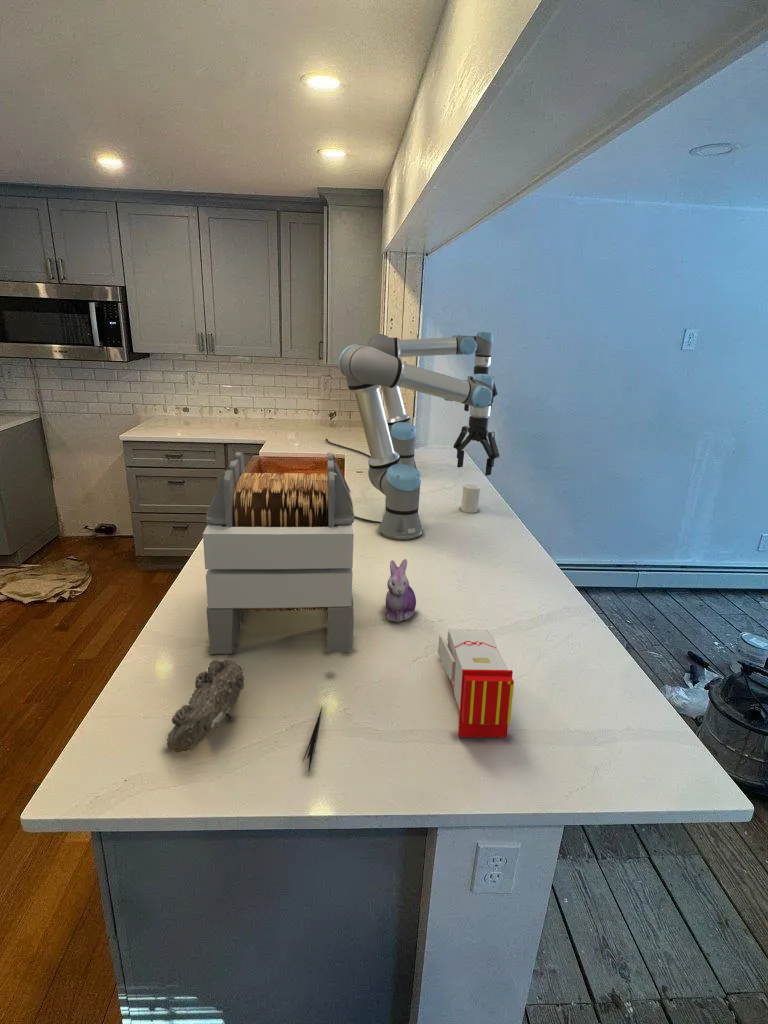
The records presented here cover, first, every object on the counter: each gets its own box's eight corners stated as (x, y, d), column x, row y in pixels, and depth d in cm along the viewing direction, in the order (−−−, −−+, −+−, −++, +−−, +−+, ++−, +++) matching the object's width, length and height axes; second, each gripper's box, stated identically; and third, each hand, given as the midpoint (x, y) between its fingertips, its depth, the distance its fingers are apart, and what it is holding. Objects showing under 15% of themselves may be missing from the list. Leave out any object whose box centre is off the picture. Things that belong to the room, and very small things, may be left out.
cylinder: (479, 512, 225) (482, 489, 221) (463, 512, 224) (465, 488, 220) (475, 507, 231) (477, 484, 227) (459, 507, 230) (461, 483, 227)
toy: (488, 613, 130) (523, 677, 101) (484, 667, 133) (517, 744, 104) (435, 612, 130) (455, 676, 101) (432, 666, 133) (451, 743, 103)
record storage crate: (229, 585, 158) (221, 442, 144) (346, 584, 161) (350, 444, 148) (206, 656, 126) (193, 481, 112) (353, 652, 130) (358, 483, 116)
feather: (331, 679, 122) (336, 673, 122) (307, 777, 96) (313, 769, 95) (324, 675, 122) (329, 669, 121) (298, 772, 95) (304, 764, 95)
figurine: (392, 627, 141) (395, 572, 136) (374, 608, 149) (376, 556, 144) (425, 619, 145) (429, 566, 140) (405, 601, 154) (408, 550, 149)
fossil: (192, 660, 117) (244, 628, 112) (224, 691, 120) (276, 661, 115) (142, 746, 98) (202, 712, 93) (182, 779, 101) (242, 748, 96)
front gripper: (513, 421, 207) (506, 476, 214) (459, 410, 224) (454, 462, 231) (501, 422, 202) (494, 480, 209) (447, 412, 219) (442, 465, 226)
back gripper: (465, 366, 262) (461, 412, 269) (507, 366, 273) (502, 410, 281) (456, 365, 269) (452, 409, 276) (498, 364, 280) (493, 408, 287)
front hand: (473, 471), depth 220 cm, fingers open, 13 cm apart
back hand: (477, 410), depth 278 cm, fingers open, 13 cm apart
